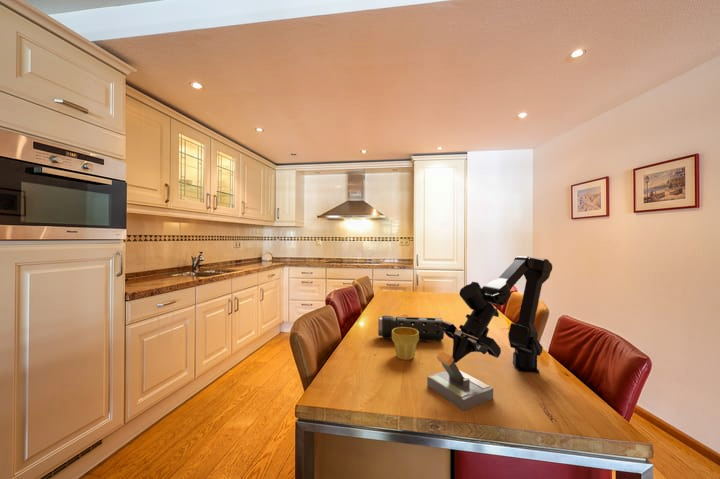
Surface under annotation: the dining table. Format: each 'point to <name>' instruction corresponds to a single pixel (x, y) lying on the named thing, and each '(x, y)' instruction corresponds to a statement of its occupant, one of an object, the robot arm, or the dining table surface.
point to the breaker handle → (450, 367)
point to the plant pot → (405, 342)
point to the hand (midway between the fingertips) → (453, 361)
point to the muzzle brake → (426, 331)
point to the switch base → (460, 390)
